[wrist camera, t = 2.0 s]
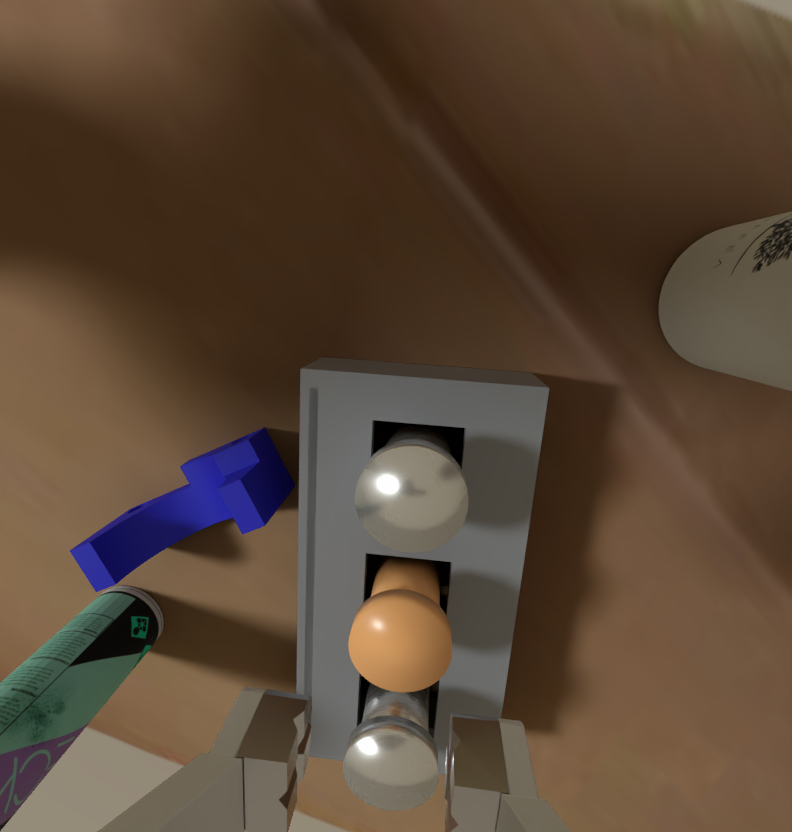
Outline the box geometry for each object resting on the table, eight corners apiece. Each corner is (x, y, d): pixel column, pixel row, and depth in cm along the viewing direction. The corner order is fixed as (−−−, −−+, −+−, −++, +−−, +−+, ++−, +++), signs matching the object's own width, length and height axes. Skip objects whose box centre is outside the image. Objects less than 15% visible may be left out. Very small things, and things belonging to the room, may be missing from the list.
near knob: (370, 495, 28) (352, 547, 22) (374, 411, 27) (357, 442, 21) (457, 503, 28) (462, 558, 22) (466, 418, 27) (474, 453, 21)
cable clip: (265, 426, 32) (227, 455, 26) (295, 484, 32) (265, 525, 27) (121, 489, 34) (55, 529, 28) (153, 542, 35) (96, 592, 29)
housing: (314, 693, 36) (295, 754, 32) (322, 357, 30) (300, 368, 25) (484, 715, 35) (491, 780, 31) (531, 372, 29) (549, 387, 24)
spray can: (102, 645, 37) (-266, 1025, 18) (90, 583, 36) (-322, 921, 16) (168, 648, 37) (-135, 1043, 17) (159, 586, 35) (-181, 938, 16)
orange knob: (364, 611, 30) (346, 685, 24) (368, 537, 29) (350, 598, 23) (445, 620, 30) (447, 698, 24) (453, 546, 29) (456, 610, 23)
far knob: (358, 712, 32) (341, 803, 26) (362, 647, 31) (344, 729, 25) (435, 722, 32) (434, 816, 26) (441, 657, 31) (442, 741, 25)
